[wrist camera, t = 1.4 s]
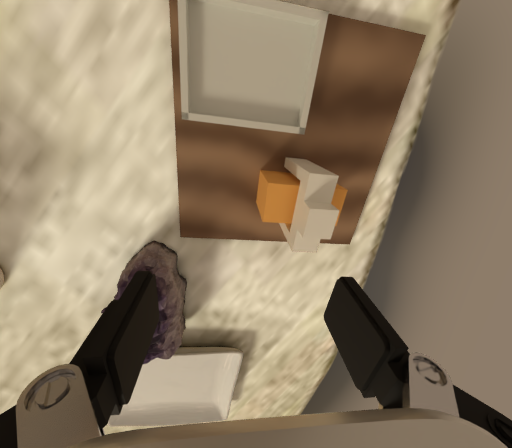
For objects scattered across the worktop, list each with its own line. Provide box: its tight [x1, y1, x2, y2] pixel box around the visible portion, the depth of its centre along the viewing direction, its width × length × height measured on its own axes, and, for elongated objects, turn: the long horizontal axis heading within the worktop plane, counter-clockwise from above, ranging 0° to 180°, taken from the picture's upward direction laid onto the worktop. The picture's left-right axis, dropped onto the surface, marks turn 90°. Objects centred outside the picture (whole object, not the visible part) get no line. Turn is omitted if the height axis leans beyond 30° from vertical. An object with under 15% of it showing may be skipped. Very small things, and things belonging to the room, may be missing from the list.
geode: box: [101, 241, 187, 364], centre depth 32 cm, size 20×12×10 cm, turn 171°
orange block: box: [256, 170, 348, 226], centre depth 26 cm, size 4×9×6 cm, turn 83°
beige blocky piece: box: [279, 157, 339, 252], centre depth 24 cm, size 8×3×11 cm, turn 173°
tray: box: [178, 0, 329, 135], centre depth 22 cm, size 11×14×2 cm
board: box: [169, 0, 426, 244], centre depth 27 cm, size 27×27×1 cm
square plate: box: [108, 347, 243, 427], centre depth 46 cm, size 27×27×4 cm
